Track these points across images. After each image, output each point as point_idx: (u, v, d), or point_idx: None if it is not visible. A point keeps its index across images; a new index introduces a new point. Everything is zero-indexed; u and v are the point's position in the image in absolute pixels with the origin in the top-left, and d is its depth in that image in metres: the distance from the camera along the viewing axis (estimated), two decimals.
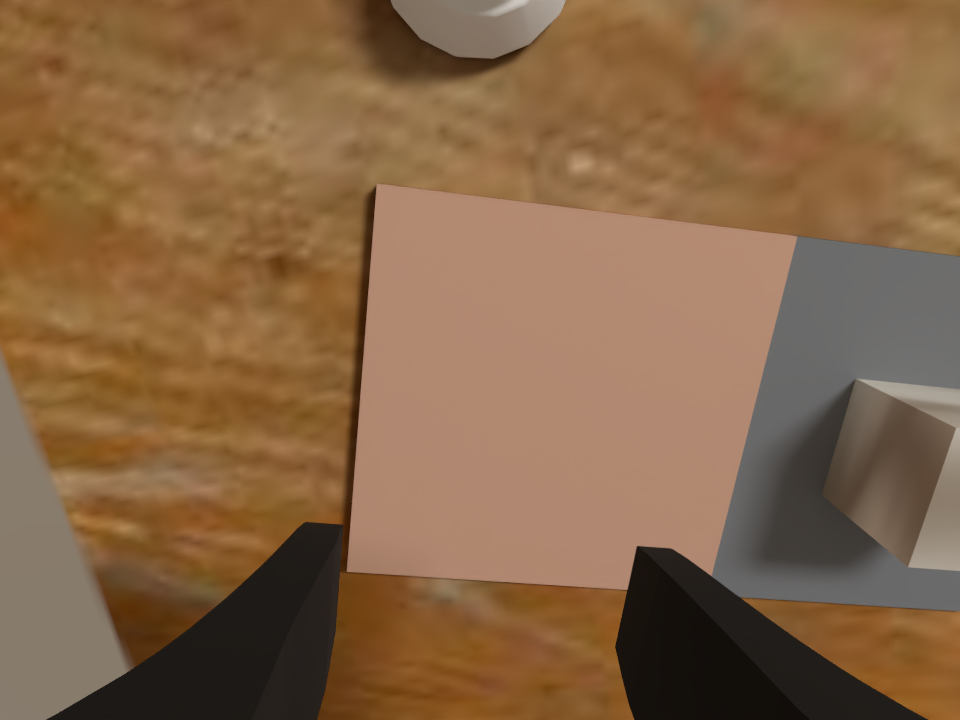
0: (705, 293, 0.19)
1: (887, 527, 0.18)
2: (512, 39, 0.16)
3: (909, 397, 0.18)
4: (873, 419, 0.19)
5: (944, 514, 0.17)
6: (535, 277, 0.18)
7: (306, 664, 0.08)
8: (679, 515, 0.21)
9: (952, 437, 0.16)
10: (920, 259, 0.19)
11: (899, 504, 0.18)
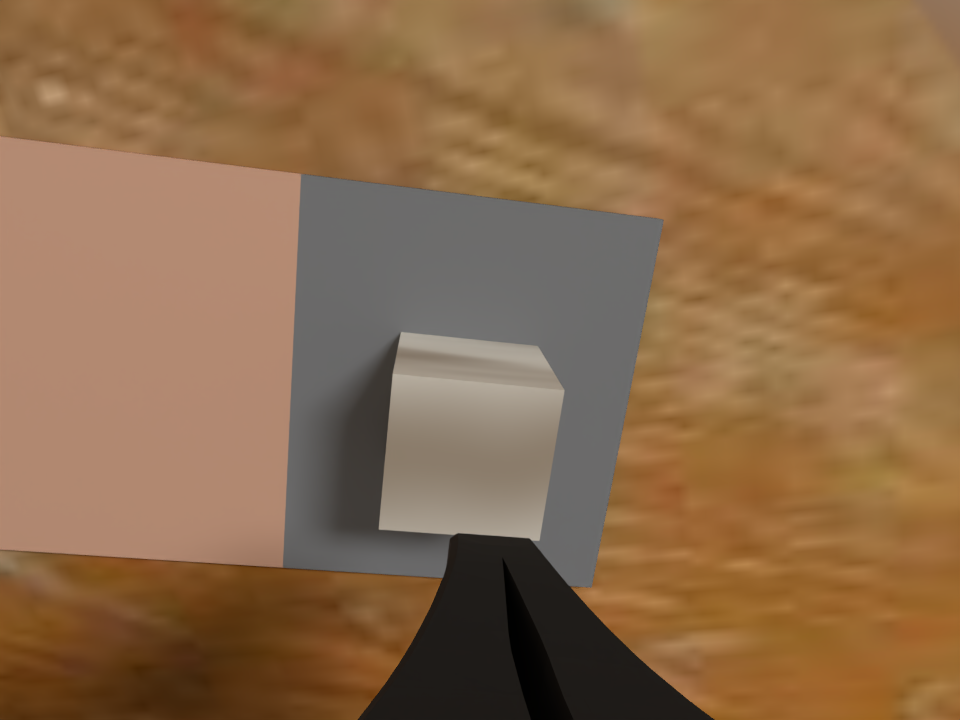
0: (209, 236, 0.17)
1: None
2: None
3: (419, 348, 0.17)
4: None
5: (405, 471, 0.15)
6: (10, 218, 0.17)
7: None
8: (233, 481, 0.19)
9: (392, 384, 0.15)
10: (447, 200, 0.18)
11: None
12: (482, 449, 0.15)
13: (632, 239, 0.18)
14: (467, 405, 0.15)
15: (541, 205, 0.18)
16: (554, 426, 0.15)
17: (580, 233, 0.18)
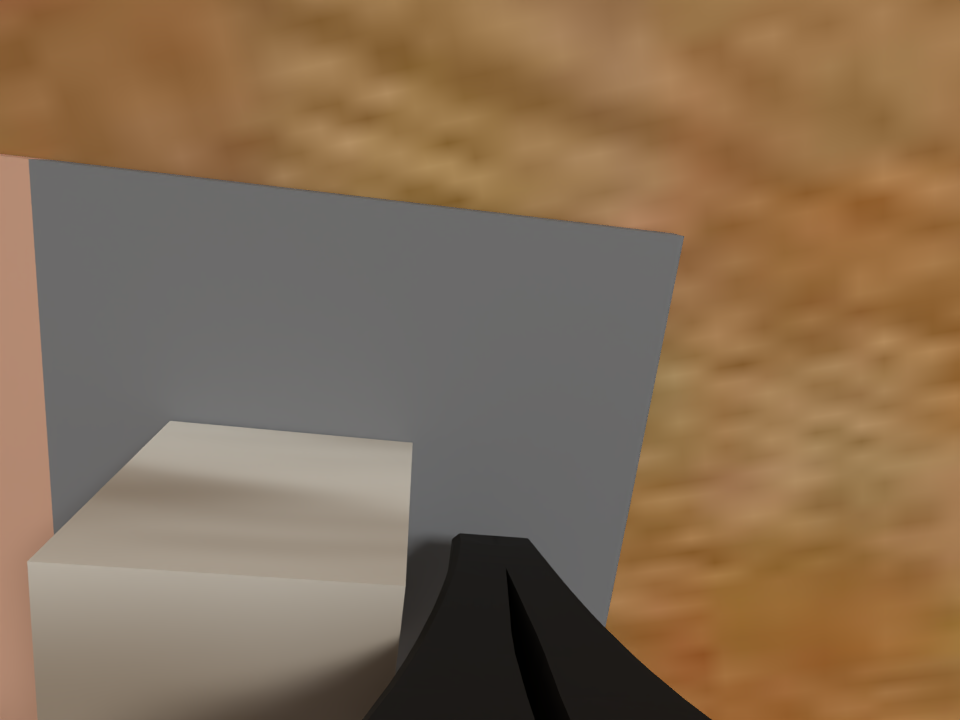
0: None
1: None
2: None
3: (169, 465, 0.09)
4: None
5: None
6: None
7: None
8: None
9: (29, 581, 0.07)
10: (300, 204, 0.10)
11: None
12: (242, 698, 0.08)
13: (630, 270, 0.11)
14: (199, 619, 0.07)
15: (469, 212, 0.10)
16: (389, 652, 0.08)
17: (539, 260, 0.10)
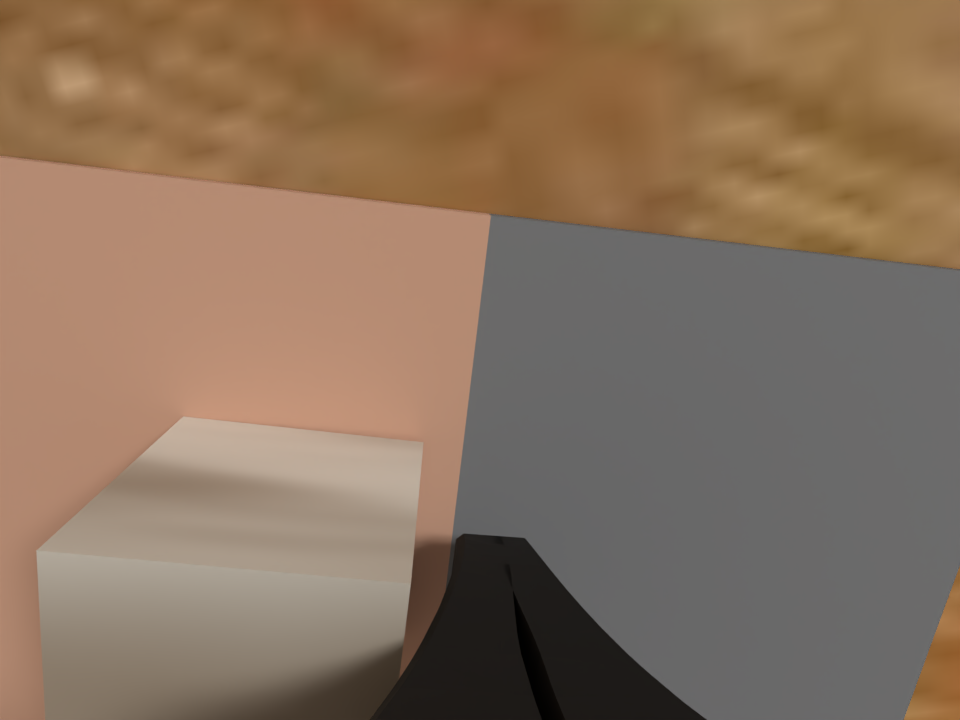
0: (334, 319, 0.10)
1: None
2: None
3: (180, 460, 0.09)
4: None
5: None
6: (2, 293, 0.10)
7: None
8: None
9: (39, 570, 0.07)
10: (725, 255, 0.11)
11: None
12: (247, 693, 0.08)
13: None
14: (205, 612, 0.07)
15: (874, 262, 0.11)
16: (394, 651, 0.08)
17: (929, 306, 0.11)
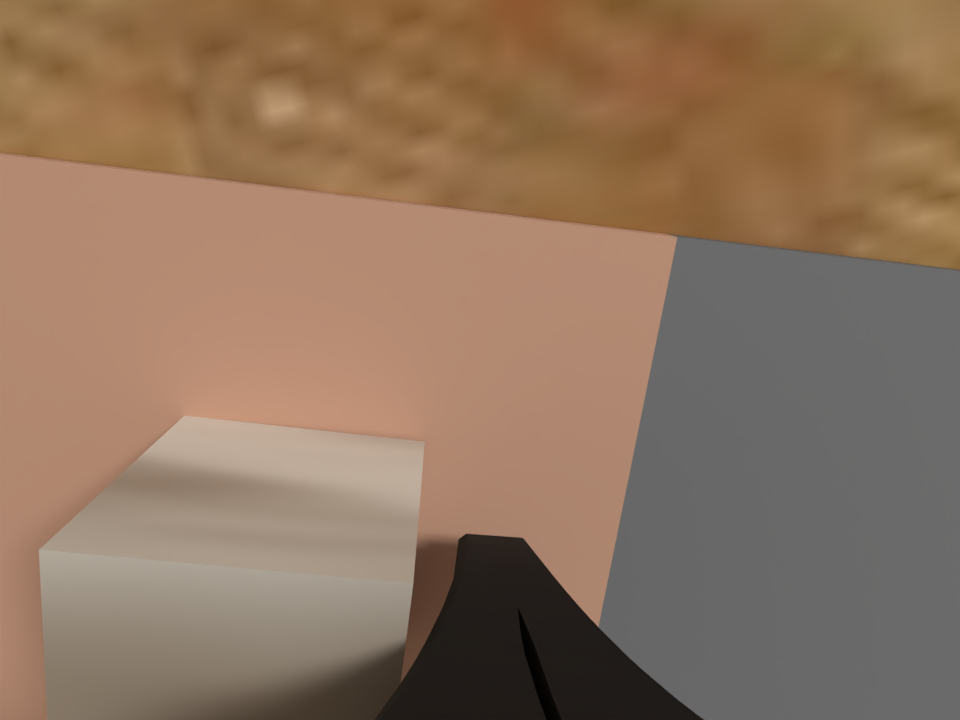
0: (519, 336, 0.11)
1: None
2: None
3: (182, 459, 0.09)
4: None
5: None
6: (205, 311, 0.10)
7: None
8: None
9: (40, 569, 0.07)
10: (897, 275, 0.11)
11: None
12: (249, 692, 0.08)
13: None
14: (208, 612, 0.07)
15: None
16: (396, 650, 0.08)
17: None
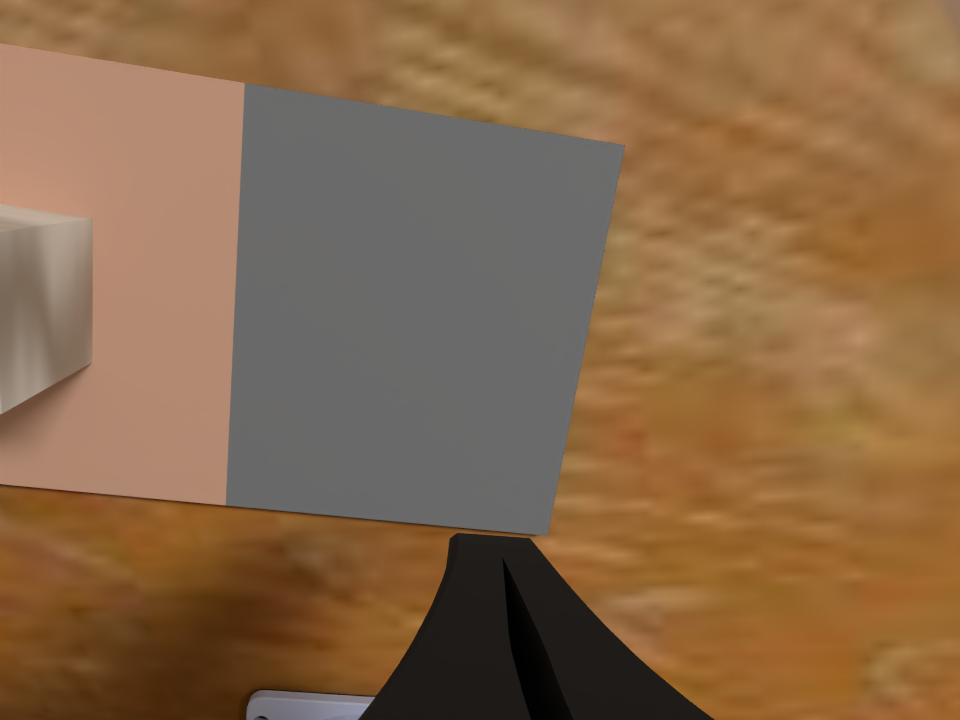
0: (148, 147, 0.17)
1: None
2: None
3: None
4: None
5: None
6: None
7: None
8: (173, 411, 0.19)
9: None
10: (398, 116, 0.17)
11: None
12: None
13: (592, 165, 0.18)
14: None
15: (497, 125, 0.17)
16: None
17: (538, 156, 0.17)
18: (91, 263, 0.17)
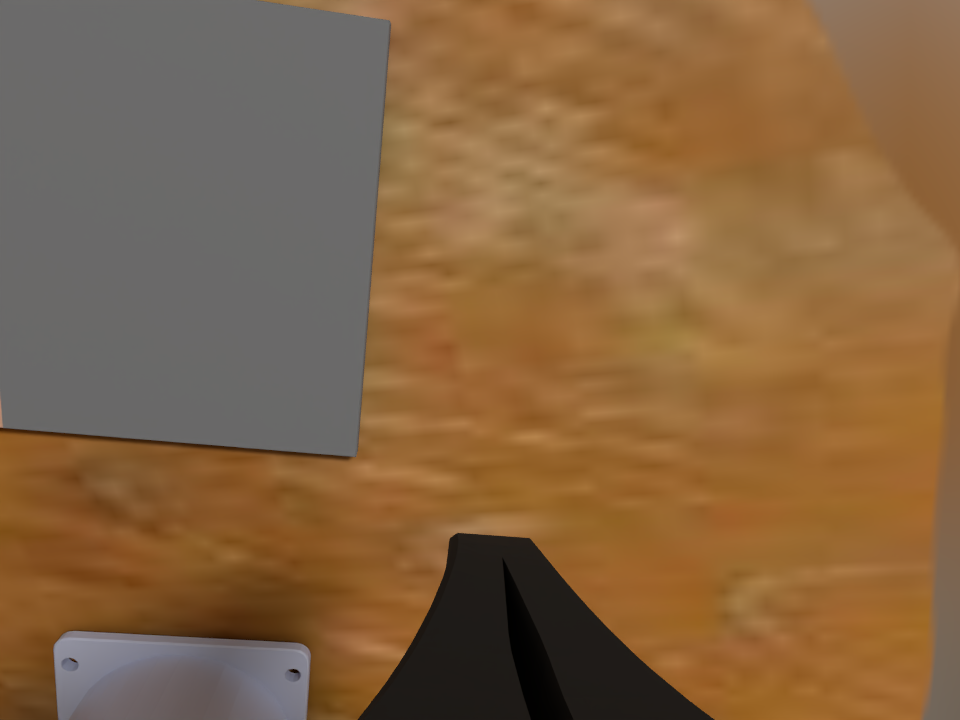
0: None
1: None
2: None
3: None
4: None
5: None
6: None
7: None
8: None
9: None
10: None
11: None
12: None
13: (357, 43, 0.16)
14: None
15: (247, 0, 0.16)
16: None
17: (296, 35, 0.16)
18: None
